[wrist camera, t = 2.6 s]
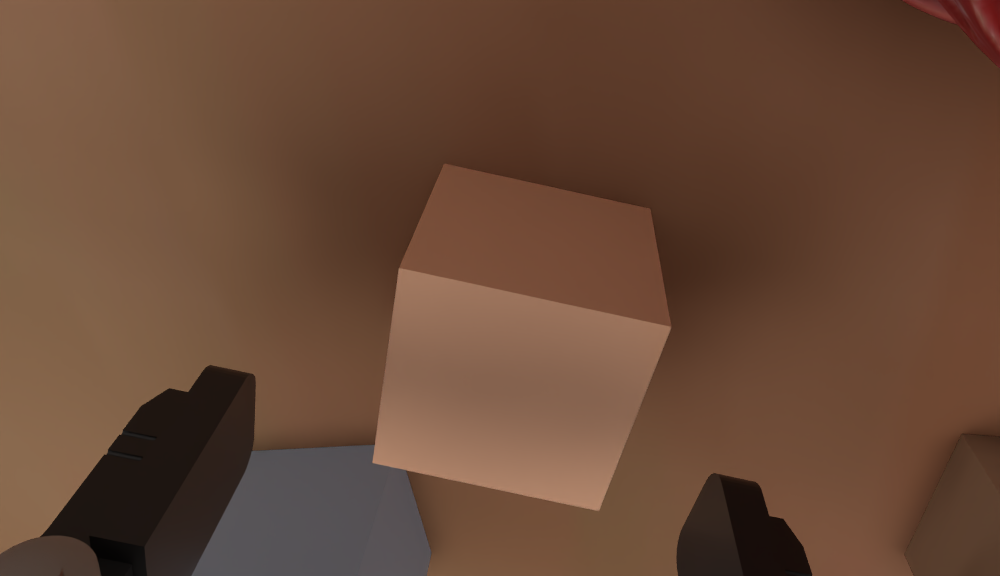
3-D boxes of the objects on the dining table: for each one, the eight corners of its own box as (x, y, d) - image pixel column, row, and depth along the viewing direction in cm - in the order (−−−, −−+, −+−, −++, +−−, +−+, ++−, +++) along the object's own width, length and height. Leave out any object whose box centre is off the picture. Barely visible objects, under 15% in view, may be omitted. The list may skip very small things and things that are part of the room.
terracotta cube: (649, 207, 17) (671, 326, 13) (595, 368, 20) (598, 510, 16) (444, 162, 17) (398, 267, 13) (417, 330, 20) (372, 463, 16)
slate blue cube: (398, 442, 22) (354, 584, 18) (431, 550, 25) (400, 698, 20) (246, 449, 23) (170, 587, 19) (293, 554, 26) (236, 697, 21)
